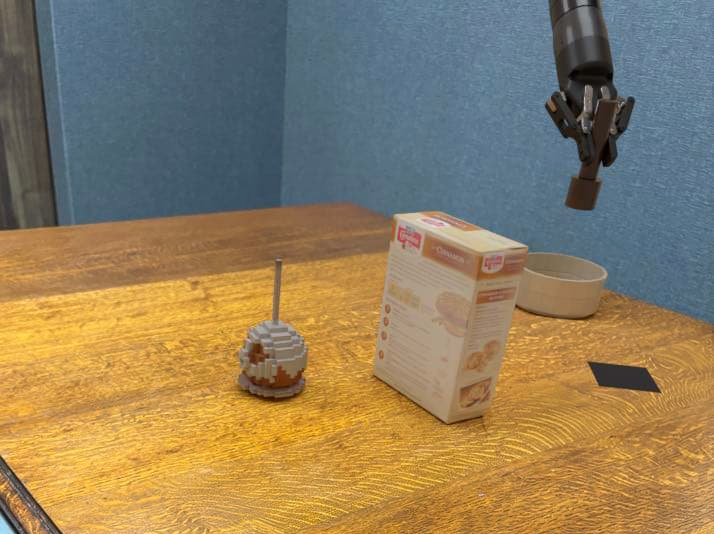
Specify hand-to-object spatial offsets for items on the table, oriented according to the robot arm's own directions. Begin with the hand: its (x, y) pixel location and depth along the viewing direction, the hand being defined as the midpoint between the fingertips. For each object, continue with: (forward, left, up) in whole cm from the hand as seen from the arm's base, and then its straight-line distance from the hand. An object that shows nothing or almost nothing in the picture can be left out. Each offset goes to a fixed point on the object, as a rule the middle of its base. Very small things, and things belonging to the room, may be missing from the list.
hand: (599, 163), depth 115 cm
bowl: (+1, -3, -22) cm, 22 cm away
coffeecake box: (+22, +36, -22) cm, 47 cm away
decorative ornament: (+41, +39, -22) cm, 60 cm away
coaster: (-4, +25, -22) cm, 33 cm away
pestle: (+1, -2, -6) cm, 7 cm away
